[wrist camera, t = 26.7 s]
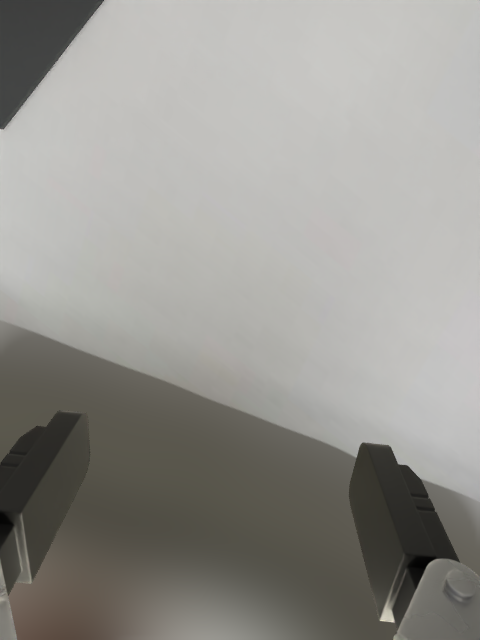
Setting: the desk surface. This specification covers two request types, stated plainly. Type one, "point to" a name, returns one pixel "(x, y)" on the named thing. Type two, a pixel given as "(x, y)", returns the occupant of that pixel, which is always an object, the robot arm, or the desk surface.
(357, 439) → the desk surface
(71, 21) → the desk mat
